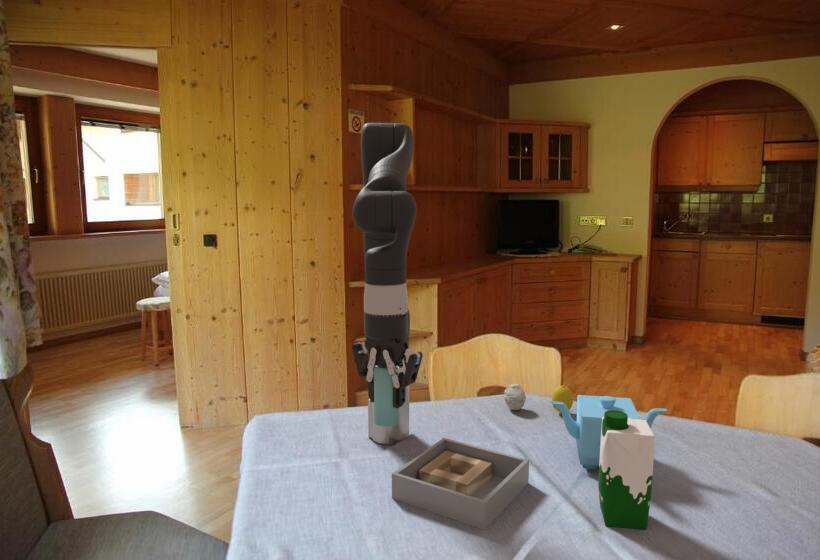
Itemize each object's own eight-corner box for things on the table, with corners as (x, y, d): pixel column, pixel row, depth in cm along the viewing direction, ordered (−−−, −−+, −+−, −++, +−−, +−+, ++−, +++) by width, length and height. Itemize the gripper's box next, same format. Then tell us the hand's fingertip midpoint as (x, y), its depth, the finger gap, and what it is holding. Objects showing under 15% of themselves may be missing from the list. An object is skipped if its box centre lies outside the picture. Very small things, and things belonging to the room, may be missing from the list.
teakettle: (598, 437, 146) (601, 379, 144) (668, 466, 131) (672, 402, 129) (544, 456, 136) (545, 394, 134) (612, 490, 121) (616, 421, 118)
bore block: (419, 484, 122) (419, 470, 121) (446, 463, 131) (446, 450, 130) (467, 499, 116) (467, 484, 115) (491, 476, 125) (492, 462, 124)
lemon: (573, 418, 158) (574, 389, 157) (551, 416, 160) (552, 388, 158) (571, 410, 164) (572, 382, 163) (551, 409, 165) (552, 381, 164)
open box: (391, 502, 116) (391, 473, 115) (443, 463, 133) (443, 437, 132) (484, 534, 105) (485, 503, 104) (528, 487, 122) (529, 459, 121)
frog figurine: (520, 404, 169) (521, 380, 168) (529, 413, 162) (530, 388, 161) (500, 405, 168) (500, 381, 167) (508, 414, 161) (509, 390, 160)
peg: (369, 423, 105) (368, 368, 103) (384, 415, 108) (383, 361, 107) (389, 428, 102) (389, 372, 101) (404, 420, 106) (403, 365, 105)
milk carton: (594, 503, 116) (599, 404, 113) (643, 507, 114) (649, 407, 111) (600, 528, 107) (605, 422, 104) (653, 533, 106) (660, 426, 103)
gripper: (339, 307, 103) (341, 402, 106) (408, 317, 95) (408, 419, 98) (366, 300, 109) (367, 390, 112) (432, 309, 102) (432, 405, 104)
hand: (386, 403), depth 105 cm, fingers closed on peg, 4 cm apart
